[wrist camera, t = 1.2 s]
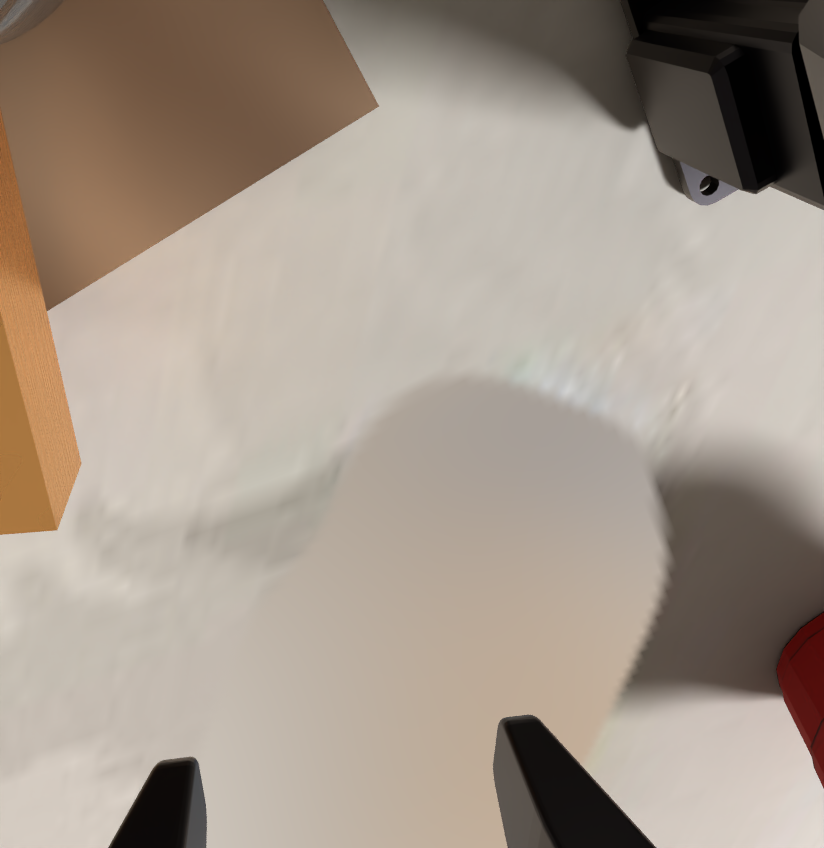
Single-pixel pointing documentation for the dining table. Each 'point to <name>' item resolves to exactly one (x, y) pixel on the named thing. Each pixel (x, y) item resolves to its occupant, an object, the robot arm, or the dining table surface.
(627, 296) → the dining table surface
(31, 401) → the wood-handled metal tool
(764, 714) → the dining table surface
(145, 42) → the base plate
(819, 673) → the plastic cup
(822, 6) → the robot arm
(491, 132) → the dining table surface
